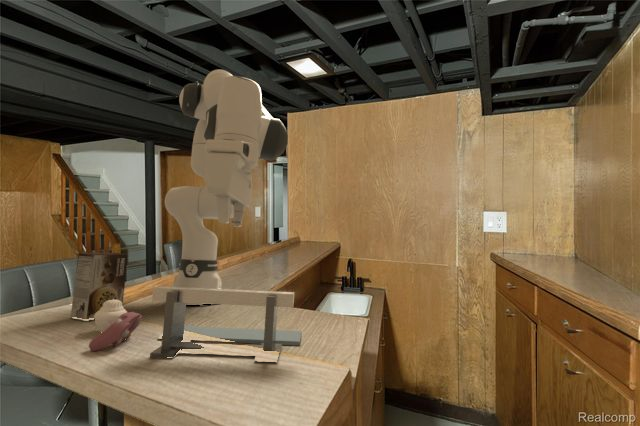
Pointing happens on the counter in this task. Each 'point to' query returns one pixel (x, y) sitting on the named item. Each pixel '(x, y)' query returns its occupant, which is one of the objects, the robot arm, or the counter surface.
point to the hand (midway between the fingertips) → (230, 225)
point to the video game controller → (117, 331)
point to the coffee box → (98, 282)
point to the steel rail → (224, 296)
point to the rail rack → (173, 344)
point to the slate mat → (247, 335)
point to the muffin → (108, 314)
